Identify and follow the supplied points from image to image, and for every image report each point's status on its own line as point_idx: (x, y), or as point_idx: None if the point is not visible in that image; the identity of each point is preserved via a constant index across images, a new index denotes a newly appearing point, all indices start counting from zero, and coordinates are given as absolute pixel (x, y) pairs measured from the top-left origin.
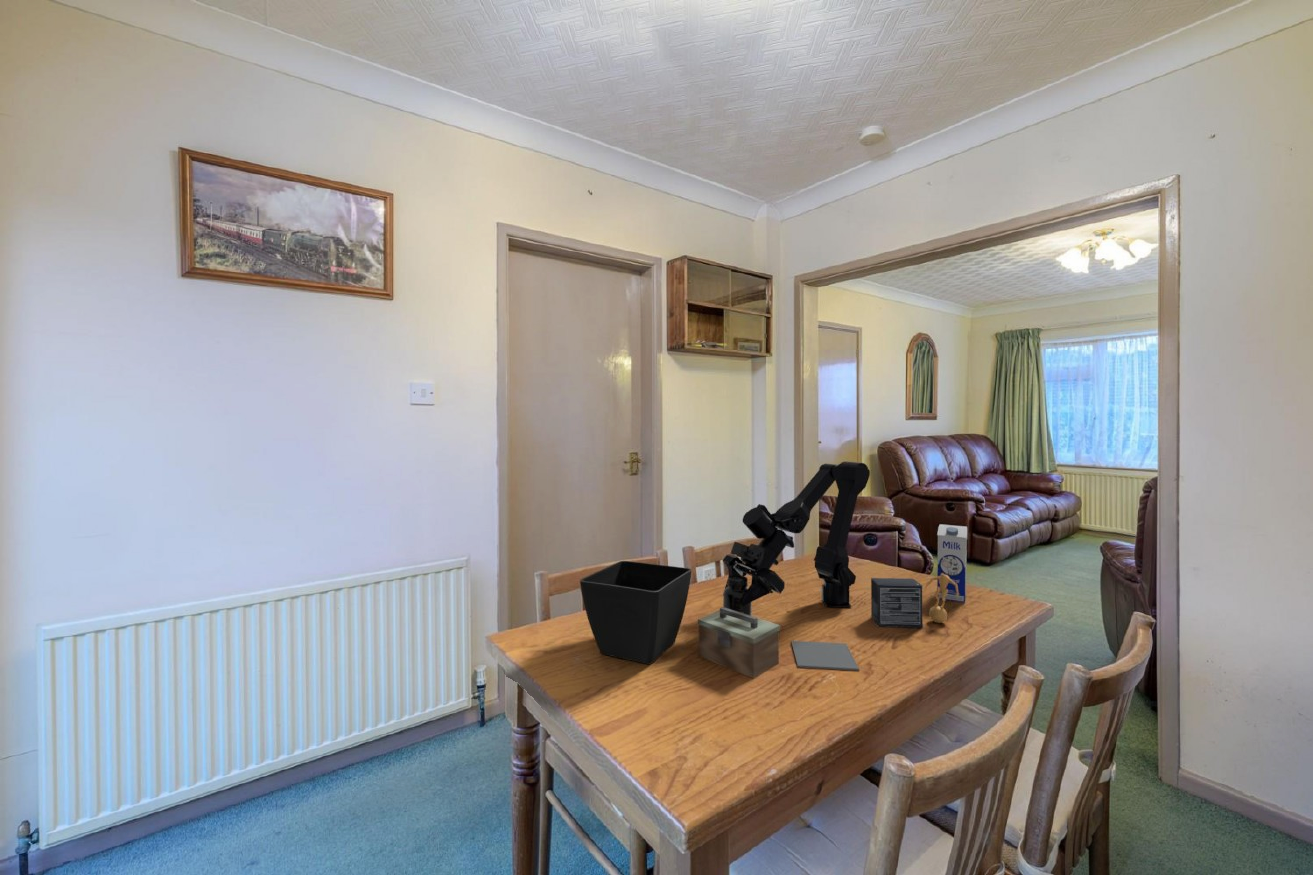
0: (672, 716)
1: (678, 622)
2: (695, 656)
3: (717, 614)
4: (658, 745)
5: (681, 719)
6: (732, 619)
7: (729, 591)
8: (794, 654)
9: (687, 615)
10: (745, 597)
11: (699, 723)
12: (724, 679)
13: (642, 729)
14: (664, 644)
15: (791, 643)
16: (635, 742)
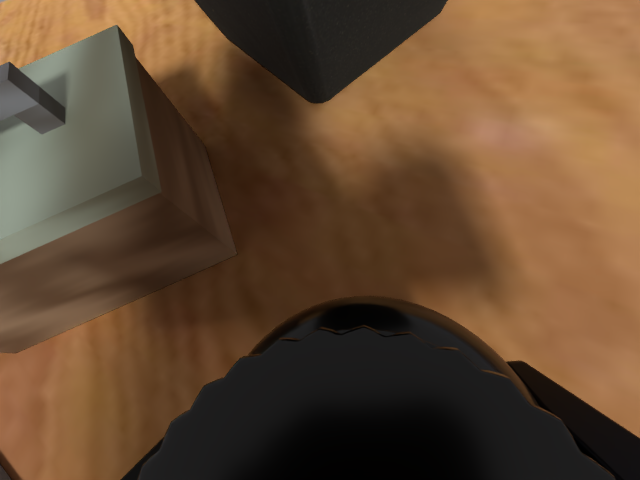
0: (54, 47)
1: (268, 35)
2: (209, 136)
3: (98, 108)
4: (21, 24)
5: (38, 57)
6: (3, 151)
7: (325, 323)
8: (2, 469)
9: (601, 227)
10: (160, 442)
11: None
12: None
13: (62, 11)
14: (242, 39)
15: None
16: (48, 3)
